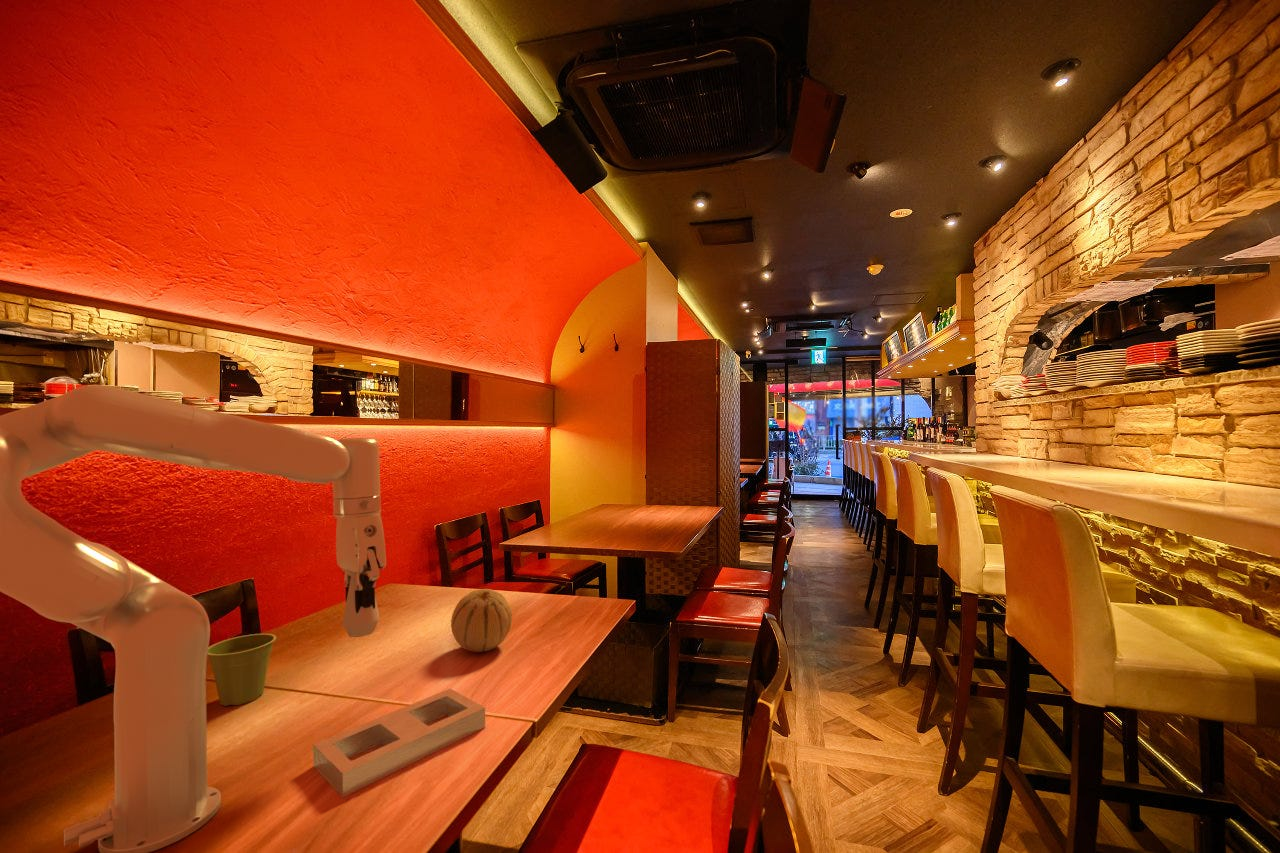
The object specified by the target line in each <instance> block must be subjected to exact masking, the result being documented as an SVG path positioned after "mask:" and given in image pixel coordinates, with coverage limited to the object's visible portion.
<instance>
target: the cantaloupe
mask: <svg viewBox="0 0 1280 853" xmlns="http://www.w3.org/2000/svg"><path fill="white" fill-rule="evenodd" d="M512 616H513V614H512V609H511V607H510V604H509V602H508V601H507V598H506V597H504V595H503V594H502V593H500V592H499V591H496V590H493V589H490V588H481V589H476V590H472V591H470V592H469V593H466V595H464V596H463V597H462V598H461V599H460V600H459V601H458V603H457V604H456V606H455V608H454V610H453V612H452V615H451V620H450V628H451V632H452V635H453V637H454V639H455V641H456V643H458V644H459V646H460V647H461V648H462V649H464V650H465V651H466V650H467V651H470V652H474V653H482V652H488V651H491V650H493V649H495V648H497V647H498V646H499V645H501V643H503V642H504V640H505V639H506V638H507V636H508V634H509V632H510V629H511V627H512V620H513V617H512Z"/></svg>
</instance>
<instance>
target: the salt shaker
mask: <svg viewBox="0 0 1280 853" xmlns="http://www.w3.org/2000/svg"><path fill="white" fill-rule="evenodd" d="M363 569H364V570H363V571H366V570H368V567H366V568H363ZM346 573H347V575H349V576H351V580H350V585H349V590H348V596H347V601H346V600H345V608H344V613H343V618H342V626H343V628H344V630H345V631H346V633H347V635H348V637H350V638H361V637H365V636H368V635H371V634H373V633H374V632H375V631H376V628H377V625H378V623H379V620H380V612H379V608H378V603H377V599H376V598H375V609H374V608H373V606H372V605H371V607H368V608H364V607H362V606H361V607H360V610H359V612H358V613H356V609H355V590H357V583H356V573H355V572H352V571H350V570H348V569H347V570H346ZM364 576H367V574H366V575H362V580H363V578H364Z"/></svg>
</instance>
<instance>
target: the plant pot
mask: <svg viewBox="0 0 1280 853" xmlns="http://www.w3.org/2000/svg"><path fill="white" fill-rule="evenodd" d="M276 639H277V636H276V635H275V634H272V633H254V634H252V633H251V634H248V635H247V634H246V635H241V636H235V637H232V638H231V637H230V638H227V639H224V640H222V641H218V642H217V643H213V644H212V645H209V647H208V654H207V657H208V661H209V664H210V665H211V668H212V671H213V677H214V681H215V686H216V691H217V695H218V701H219V704H220V705H221V706H224V707H228V706H229V705H233V706H240V705H243V704H246V703H249V702H252V701H254V700H257V699H258V698H259V697H260V695H263V694H264V690H265V685H266V680H267V672H268V667H269V661H270V657H271V652H272V650H273V644H274V642H275V641H276Z"/></svg>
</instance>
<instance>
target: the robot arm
mask: <svg viewBox="0 0 1280 853" xmlns="http://www.w3.org/2000/svg"><path fill="white" fill-rule="evenodd" d="M95 451H96V452H97V451H101V452H106V453H113V454H116V455H117V454H118V455H125V456H130V457H136V458H142V459H148V460H154V461H159V462H165V463H171V464H177V465H182V466H188V467H195V468H200V469H201V468H202V469H208V470H217V471H242V472H251V473H256V474H257V473H258V474H264V475H272V476H279V477H283V478H286V479H288V480H289V481H293V482H297V483H307V484H319V485H320V484H321V485H324V484H325V485H326V484H330V483H332V498H333V499H332V500H333V501H332V502H333V518H336V529H335V530H336V531H335V555H336V563H337V566H338V567H339V568H340V569H341V570H342V572H343V576H344V580H343V581H344V587H345V588H344V589H345V590H344V591H345V602H346V601H347V596H348V590H349V585H350V580H351V576H349V575H347V573H346V570H347V569H348V570H350V571H352V572H355V573H356V583H357V590H355V609H356V613H358V612H359V610H360V607H361V606H362V607H364V608H368V607H371V605H372V606H373V608H374V609H375V599H376V590H375V588H376V586H377V583H376V581H377V579H379V578H380V575H381V574H380V570H382V569H385V567H386V565H387V556H386V555H387V554H386V553H387V552H386V541H385V532H384V526H383V521H382V516H381V513H382V505H381V502H382V501H381V497H382V496H381V473H380V472H381V470H380V469H381V468H380V466H381V465H380V444H379V443H378V441H377V439H375V438H373V437H349V438H347V437H346V438H339V439H335V438H332V437H330V436H326V435H321V434H317V433H314V432H310V431H305V430H301V429H297V428H293V427H289V426H284V425H279V424H274V423H269V422H265V421H259V420H255V419H251V418H246V417H243V416H239V415H235V414H230V413H225V412H220V411H216V410H211V409H208V408H202V407H198V406H194V405H189V404H185V403H181V402H179V401H178V402H177V401H173V400H168V399H164V398H161V397H156V396H152V395H148V394H145V393H141V392H136V391H132V390H126V389H124V388H118V387H115V386H108V385H100V384H90V385H84V386H79V387H76V388H73V389H71V390H69V391H67V392H65V393H64V394H61V395H58V396H55V397H53V398H50V399H47V400H44V401H42V402H38V403H36V404H33V405H30V406H27V407H24V408H21V409H18V410H14V411H11V412H8V413H5V414H2V415H0V593H2V594H4V595H6V596H8V597H10V598H13V599H14V600H16V601H17V602H20V603H21V604H23V605H25V606H27V607H29V608H31V610H33V611H34V612H35V613H36V614H38V615H39V616H42V617H44V618H46V619H49V620H52V621H54V622H55V621H56V622H60V623H69V624H72V625H74V626H76V627H77V628H79V629H82V630H84V631H85V632H88V633H90V634H91V635H94V636H96V637H98V638H100V639H102V640H104V641H106V642H107V643H110V644H111V647H112V648H113V649H114V653H115V655H114V656H115V674H114V675H115V676H114V688H113V725H114V728H113V730H114V731H113V732H114V733H113V738H114V740H113V741H114V744H113V746H114V749H113V750H114V753H113V754H114V756H113V757H114V799H112V800H110V801H108V802H109V803H108V804H109V806H108V808H107V809H106V810H103V811H101V812H99V813H98V816H96V817H94V818H91V819H89V820H86V821H81V822H79V823H76V824H73V825H70V826H68V827H66V828H64V829H63V846H64V847H66V846H68V845H70V844H73V843H75V842H77V841H78V847H79V848H82V847H84V846H87V845H89V844H92V843H94V842H95V841H97V840H98V841H97V849H98V852H99V853H151V852H154V851H156V850H160V849H163V848H165V847H167V846H169V845H171V844H174V843H176V842H178V841H180V840H182V839H184V838H186V837H188V836H190V835H191V834H192V833H195V832H196V831H197V830H198V829H200V828H201V827H202V826H204V825H205V824H207V823H208V822H209V821H210V820H211V819H212V818H213V817H214V816H215V814H216V813H217V812H218V810H219V809H220V806H221V803H222V794H221V792H220V791H219V789H217V788H215V787H213V786H208V754H207V751H208V750H207V749H208V748H207V747H208V745H207V743H208V742H207V739H208V738H207V736H208V735H207V734H208V733H207V732H208V731H207V663H208V655H207V654H208V647H210V639H211V638H210V637H211V625H210V619H209V615H208V613H207V611H206V609H205V607H204V606H203V605H202V604H201V603H200V602H199V601H198V600H197V599H195V598H194V597H193V596H191V595H189V594H187V593H186V592H183V591H181V590H179V589H178V588H176V587H175V586H172V584H169V583H168V582H166V581H164V580H163V579H160V578H159V577H157V576H156V575H154V574H152V573H151V572H149V571H147V570H146V569H145V568H142V567H140V566H139V565H137V564H135V563H134V562H132V561H130V560H129V559H127V558H125V557H124V556H122V555H121V554H119V553H118V552H116V551H115V550H113V549H111V548H109V547H108V546H106V545H104V544H101V543H98V542H95V541H94V542H93V541H89V540H88V539H85V538H84V537H82V536H80V535H79V534H78V533H75V532H74V531H72V530H70V529H68V528H67V527H65V526H63V525H62V524H60V523H59V522H58V521H57V520H55V519H54V518H52V517H50V516H48V515H47V514H45V513H43V512H42V511H40V510H39V509H37V508H36V507H34V506H33V505H31V503H29V502H28V500H27V499H26V498H25V495H24V494H23V492H22V488H21V487H22V481H23V480H24V479H27V478H30V477H32V476H35V475H37V474H40V473H42V472H43V473H44V472H45V471H48V470H50V469H53V468H56V467H58V466H61V465H64V464H65V463H68V462H70V461H74V460H75V459H78V458H81V457H83V456H86V455H88V454H91V453H94V452H95ZM366 567H368V570H366V571H363V570H364V569H363V568H366ZM366 574H367V576H364V578H363V580H362V575H366Z"/></svg>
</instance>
